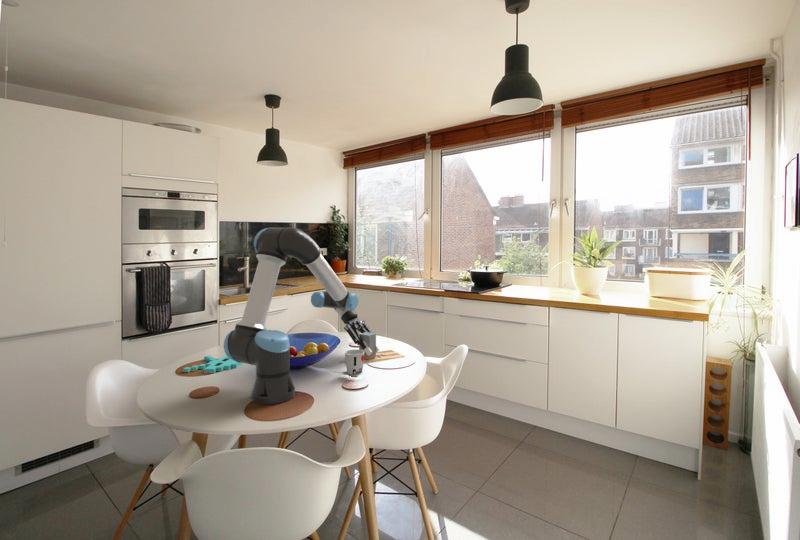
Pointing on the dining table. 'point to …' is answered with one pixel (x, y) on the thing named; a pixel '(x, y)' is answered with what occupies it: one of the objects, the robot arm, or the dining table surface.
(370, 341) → the block
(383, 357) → the oak board
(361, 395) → the dining table surface
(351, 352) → the cup
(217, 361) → the alien figure
